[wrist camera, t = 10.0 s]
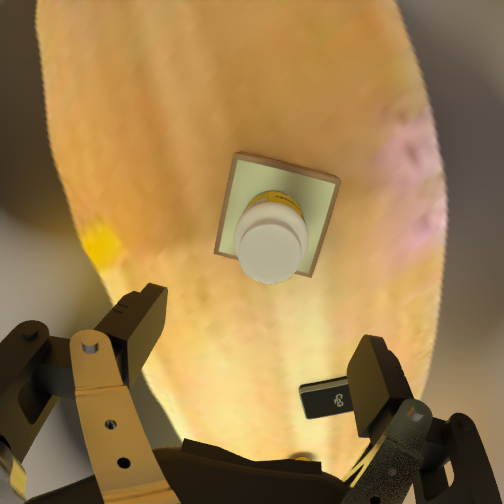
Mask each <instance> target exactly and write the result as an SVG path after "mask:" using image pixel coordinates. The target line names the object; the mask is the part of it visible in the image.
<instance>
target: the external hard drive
mask: <svg viewBox="0 0 504 504" xmlns="http://www.w3.org/2000/svg"><path fill="white" fill-rule="evenodd" d="M299 393H300V399H301V402H302V406H303V410H304V413H305V417H306V419H316V418H322V417H327V416H333V415H338V414H343V413H348V412H352V411H354V409H353V404H352V399H351V394H350V389H349V384H348V380H347V376H346V377H341V378H336V379H331V380H326V381H321V382H316V383H310V384H305V385H301V386H300V388H299Z"/></svg>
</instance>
